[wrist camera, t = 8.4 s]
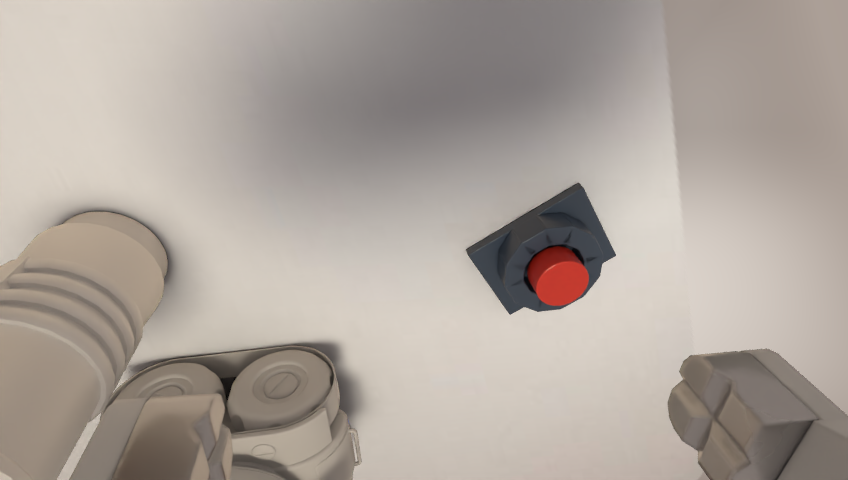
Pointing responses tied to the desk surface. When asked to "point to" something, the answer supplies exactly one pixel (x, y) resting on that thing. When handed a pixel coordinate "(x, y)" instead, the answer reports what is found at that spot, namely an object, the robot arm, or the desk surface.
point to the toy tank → (266, 409)
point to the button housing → (541, 248)
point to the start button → (557, 276)
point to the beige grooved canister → (70, 333)
